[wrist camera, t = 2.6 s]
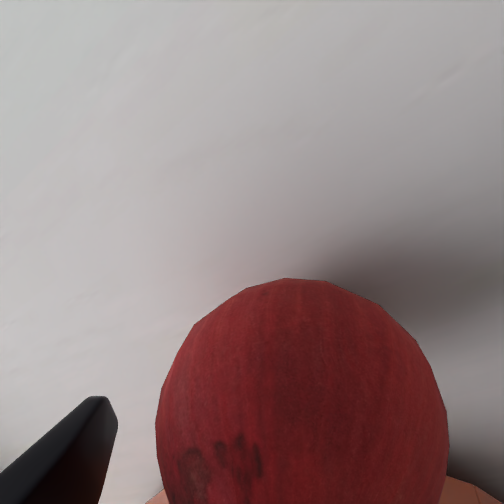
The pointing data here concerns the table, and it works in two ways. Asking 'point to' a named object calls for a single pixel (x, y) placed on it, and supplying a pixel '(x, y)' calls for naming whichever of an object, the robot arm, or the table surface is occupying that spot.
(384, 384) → the onion
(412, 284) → the table surface
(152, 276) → the table surface
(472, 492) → the terracotta bowl
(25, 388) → the table surface
